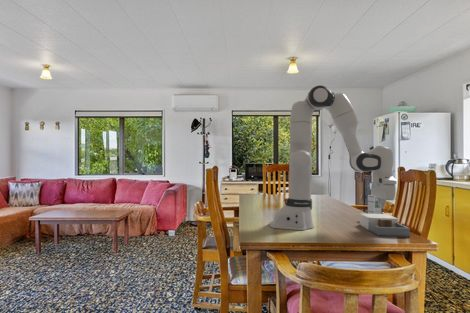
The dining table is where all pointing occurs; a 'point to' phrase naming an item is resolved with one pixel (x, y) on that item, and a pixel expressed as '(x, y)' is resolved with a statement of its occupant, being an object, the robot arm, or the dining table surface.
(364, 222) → the raised plate
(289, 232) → the dining table surface
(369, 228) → the box
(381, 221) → the walnut tile
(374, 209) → the syrup box
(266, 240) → the dining table surface
